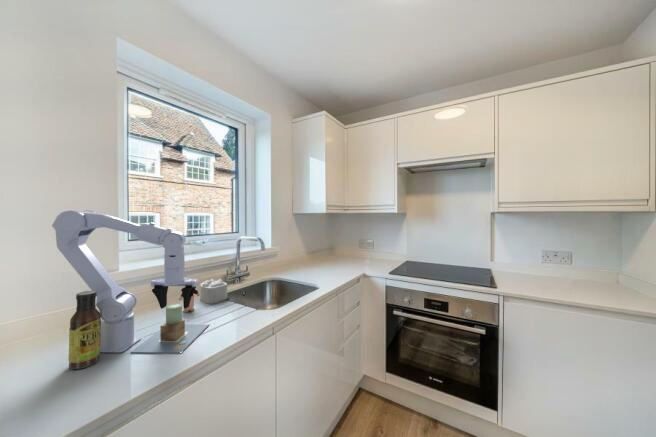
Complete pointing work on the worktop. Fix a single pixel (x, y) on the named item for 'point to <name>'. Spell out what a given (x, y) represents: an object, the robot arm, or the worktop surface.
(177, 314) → the sage drum
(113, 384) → the worktop surface
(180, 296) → the grandmother figurine
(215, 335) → the worktop surface
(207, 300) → the lumpy-topped squat cylinder
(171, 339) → the walnut block
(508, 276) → the worktop surface
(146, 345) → the board
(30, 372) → the worktop surface
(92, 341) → the sauce bottle
